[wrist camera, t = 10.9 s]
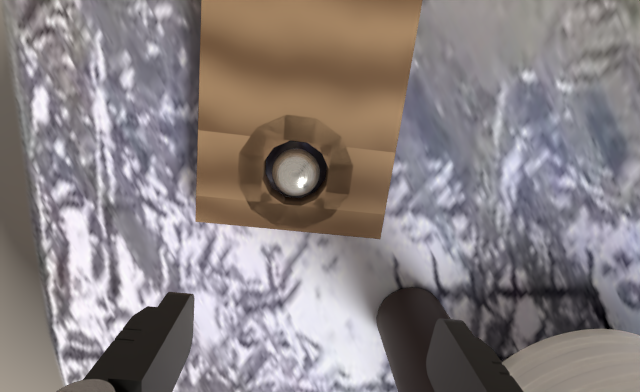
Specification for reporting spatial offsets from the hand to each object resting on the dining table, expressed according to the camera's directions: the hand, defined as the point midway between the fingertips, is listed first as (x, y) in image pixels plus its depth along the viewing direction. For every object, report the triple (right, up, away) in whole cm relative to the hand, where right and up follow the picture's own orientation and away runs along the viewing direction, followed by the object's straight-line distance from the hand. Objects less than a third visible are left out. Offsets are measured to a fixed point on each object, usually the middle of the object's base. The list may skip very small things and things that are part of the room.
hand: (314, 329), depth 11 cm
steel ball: (-2, +6, +18) cm, 19 cm away
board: (-1, +12, +19) cm, 22 cm away
